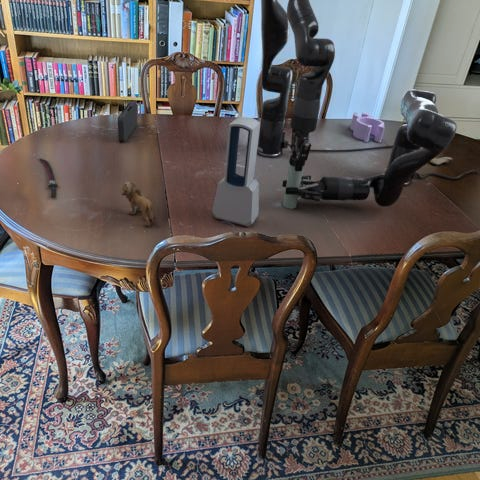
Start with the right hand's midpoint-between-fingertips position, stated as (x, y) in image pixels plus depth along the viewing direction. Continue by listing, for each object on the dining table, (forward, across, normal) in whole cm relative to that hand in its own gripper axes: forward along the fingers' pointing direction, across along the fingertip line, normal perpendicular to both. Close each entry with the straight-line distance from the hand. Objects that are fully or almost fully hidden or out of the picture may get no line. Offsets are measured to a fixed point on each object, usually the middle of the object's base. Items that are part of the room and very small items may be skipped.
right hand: (284, 187), depth 147 cm
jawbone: (-73, -46, +6) cm, 87 cm away
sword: (+75, -15, +6) cm, 77 cm away
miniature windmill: (-18, -76, +6) cm, 79 cm away
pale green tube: (-3, 0, +6) cm, 7 cm away
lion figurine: (+44, +9, +6) cm, 46 cm away
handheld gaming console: (+53, -58, +6) cm, 79 cm away
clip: (-53, -70, +6) cm, 88 cm away
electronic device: (+16, +9, +6) cm, 20 cm away
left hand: (-3, 0, -7) cm, 8 cm away
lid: (-3, 0, -10) cm, 10 cm away
